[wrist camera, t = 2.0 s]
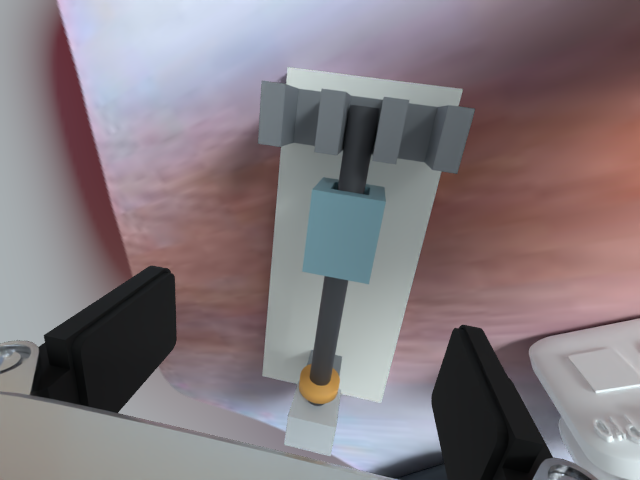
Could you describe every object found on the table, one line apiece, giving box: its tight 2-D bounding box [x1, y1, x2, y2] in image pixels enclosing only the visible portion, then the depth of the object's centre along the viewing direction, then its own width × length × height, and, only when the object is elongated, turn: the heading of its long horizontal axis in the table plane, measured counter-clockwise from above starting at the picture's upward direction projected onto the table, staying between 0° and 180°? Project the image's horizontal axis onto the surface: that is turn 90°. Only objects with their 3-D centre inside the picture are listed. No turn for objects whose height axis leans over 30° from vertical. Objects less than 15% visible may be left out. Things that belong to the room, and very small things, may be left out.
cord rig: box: [258, 67, 475, 456], centre depth 25 cm, size 28×12×9 cm, turn 173°
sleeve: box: [302, 177, 386, 284], centre depth 21 cm, size 5×4×4 cm
